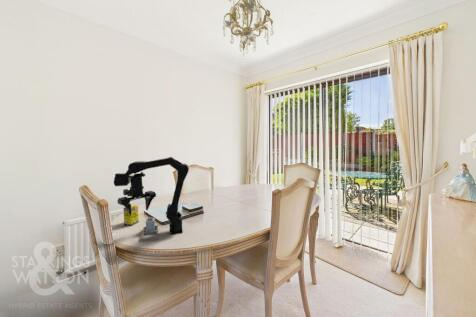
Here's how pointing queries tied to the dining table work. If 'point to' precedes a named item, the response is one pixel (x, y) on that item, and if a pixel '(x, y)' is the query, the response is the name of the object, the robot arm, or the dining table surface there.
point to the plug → (150, 224)
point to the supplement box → (131, 216)
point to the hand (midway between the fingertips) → (138, 212)
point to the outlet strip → (149, 233)
